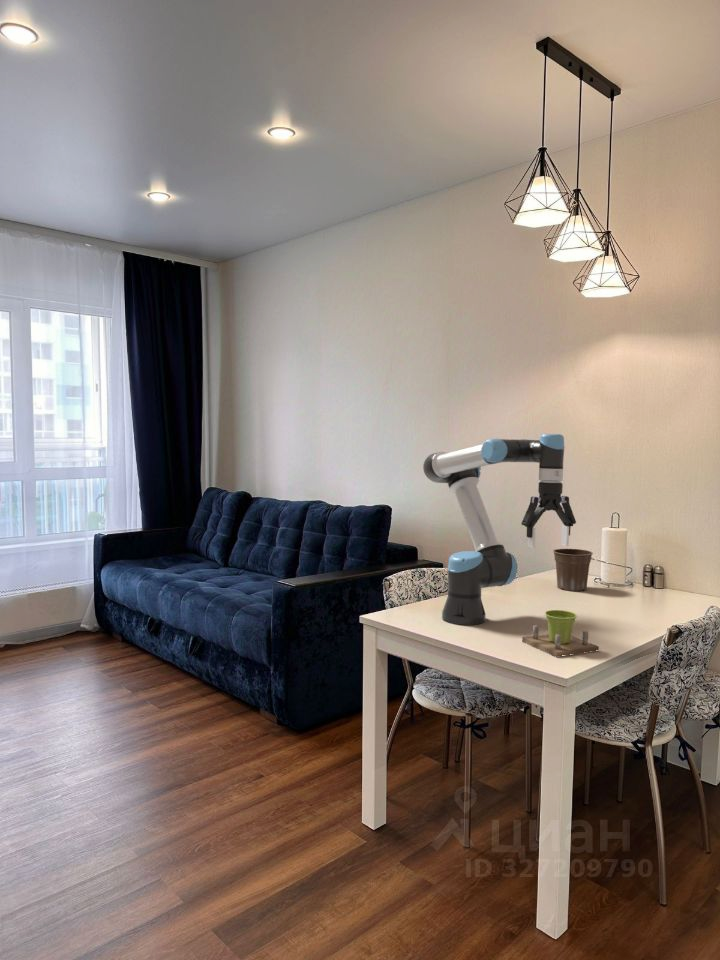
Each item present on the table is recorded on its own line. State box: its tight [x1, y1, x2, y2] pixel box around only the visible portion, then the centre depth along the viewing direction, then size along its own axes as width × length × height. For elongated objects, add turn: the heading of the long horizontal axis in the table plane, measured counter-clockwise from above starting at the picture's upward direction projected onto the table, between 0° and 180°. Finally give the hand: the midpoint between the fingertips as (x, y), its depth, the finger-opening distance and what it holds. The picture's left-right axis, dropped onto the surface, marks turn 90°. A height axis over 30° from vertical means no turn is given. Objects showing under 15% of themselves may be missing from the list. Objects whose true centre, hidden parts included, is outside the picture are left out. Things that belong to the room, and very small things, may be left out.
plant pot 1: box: [552, 548, 594, 592], centre depth 290 cm, size 16×16×16 cm
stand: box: [521, 624, 600, 657], centre depth 207 cm, size 16×16×6 cm
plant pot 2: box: [544, 609, 578, 644], centre depth 207 cm, size 9×9×9 cm
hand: (548, 546), depth 219 cm, fingers open, 13 cm apart
